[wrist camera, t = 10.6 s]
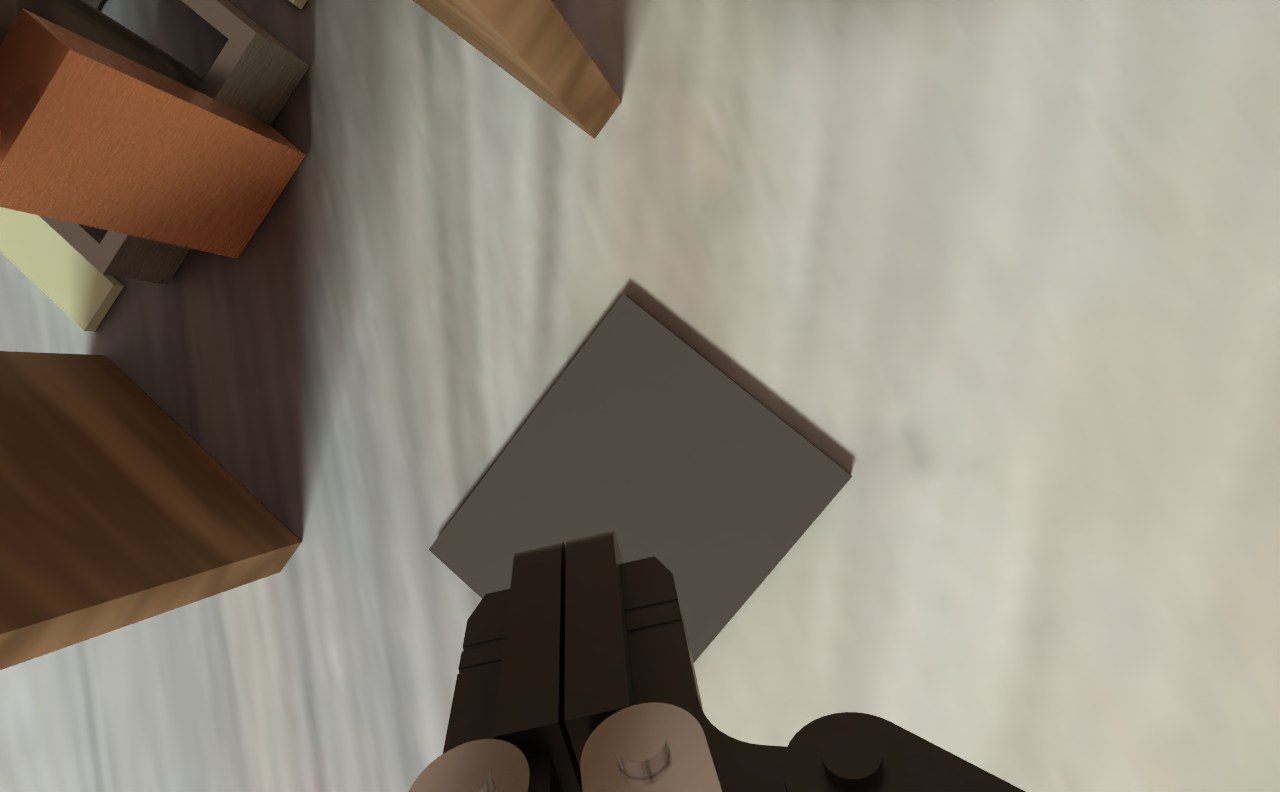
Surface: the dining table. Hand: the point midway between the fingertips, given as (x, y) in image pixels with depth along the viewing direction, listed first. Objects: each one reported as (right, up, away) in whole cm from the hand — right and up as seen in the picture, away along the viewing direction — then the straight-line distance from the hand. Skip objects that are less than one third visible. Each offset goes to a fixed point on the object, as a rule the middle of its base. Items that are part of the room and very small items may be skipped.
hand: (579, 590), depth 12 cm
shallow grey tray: (-18, +14, +20) cm, 31 cm away
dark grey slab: (+1, -1, +17) cm, 17 cm away
